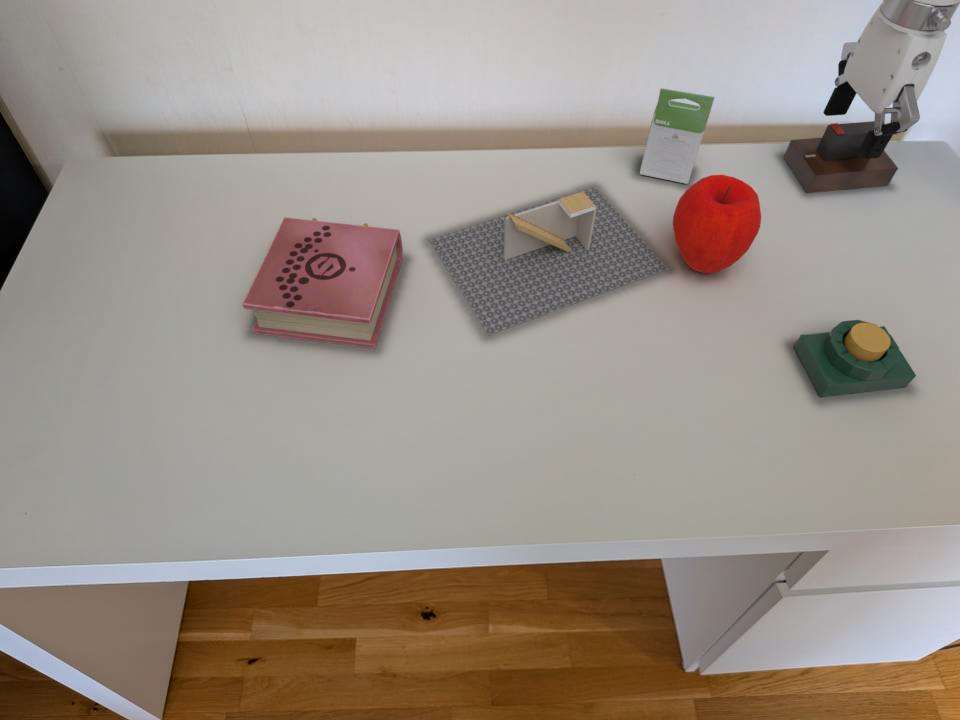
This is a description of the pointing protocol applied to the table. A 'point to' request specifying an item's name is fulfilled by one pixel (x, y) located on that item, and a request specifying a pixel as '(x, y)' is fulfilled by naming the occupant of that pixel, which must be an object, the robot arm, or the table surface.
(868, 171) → the plate
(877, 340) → the button
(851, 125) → the lock knob
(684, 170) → the ink box
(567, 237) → the model
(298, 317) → the book
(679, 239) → the apple
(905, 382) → the box
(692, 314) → the table surface
